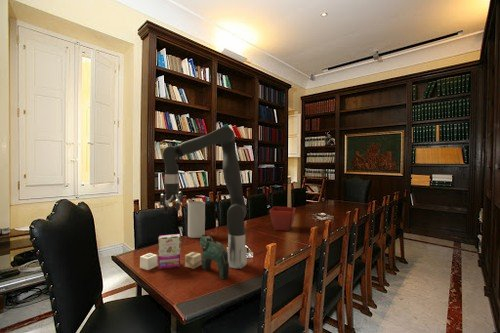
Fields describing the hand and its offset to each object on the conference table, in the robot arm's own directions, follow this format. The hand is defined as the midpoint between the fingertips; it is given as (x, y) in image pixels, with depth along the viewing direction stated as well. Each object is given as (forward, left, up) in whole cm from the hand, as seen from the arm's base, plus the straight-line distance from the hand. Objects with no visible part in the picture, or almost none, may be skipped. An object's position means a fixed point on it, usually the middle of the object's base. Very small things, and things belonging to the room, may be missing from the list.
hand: (171, 211), depth 137 cm
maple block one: (-13, -2, -28) cm, 31 cm away
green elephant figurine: (-28, -1, -28) cm, 40 cm away
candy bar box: (-3, +5, -28) cm, 29 cm away
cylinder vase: (+21, -44, -28) cm, 56 cm away
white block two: (+6, +11, -28) cm, 31 cm away
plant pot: (-28, -96, -28) cm, 104 cm away
